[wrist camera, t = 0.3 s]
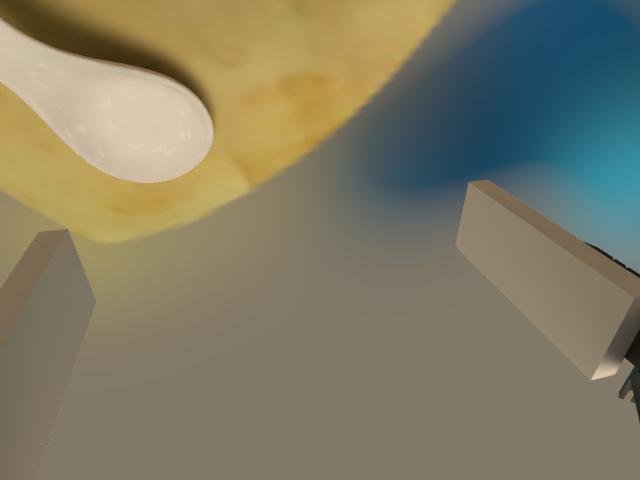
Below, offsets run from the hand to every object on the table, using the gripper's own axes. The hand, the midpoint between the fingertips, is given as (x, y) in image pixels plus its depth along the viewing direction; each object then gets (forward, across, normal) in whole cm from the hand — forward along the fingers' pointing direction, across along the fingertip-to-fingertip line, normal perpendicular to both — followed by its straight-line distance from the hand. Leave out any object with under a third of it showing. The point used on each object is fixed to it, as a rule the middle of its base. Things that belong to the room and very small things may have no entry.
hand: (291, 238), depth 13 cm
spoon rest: (+28, -12, +2) cm, 31 cm away
